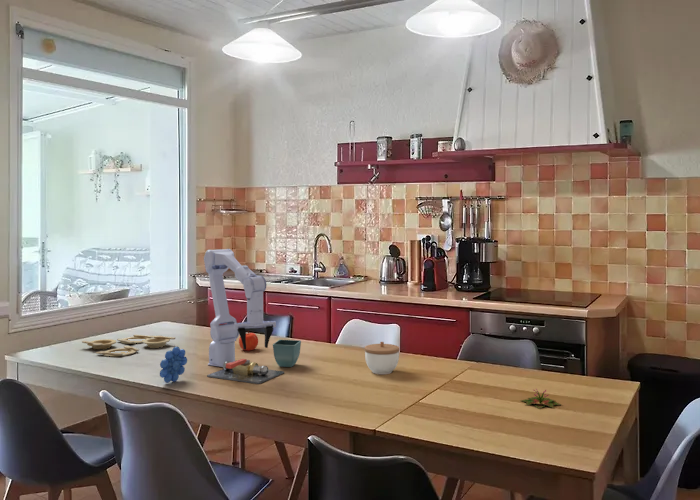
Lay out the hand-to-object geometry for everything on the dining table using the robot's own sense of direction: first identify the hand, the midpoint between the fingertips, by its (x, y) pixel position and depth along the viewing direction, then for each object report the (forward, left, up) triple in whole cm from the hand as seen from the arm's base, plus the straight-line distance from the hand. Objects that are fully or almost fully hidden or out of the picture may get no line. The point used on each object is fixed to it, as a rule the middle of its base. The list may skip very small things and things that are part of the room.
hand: (255, 348), depth 223 cm
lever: (-4, -5, -6) cm, 9 cm away
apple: (-26, +32, -10) cm, 43 cm away
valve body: (-3, -2, -10) cm, 10 cm away
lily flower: (+97, +10, -10) cm, 98 cm away
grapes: (-21, -20, -10) cm, 30 cm away
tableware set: (-76, +14, -10) cm, 78 cm away
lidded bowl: (+39, +23, -10) cm, 46 cm away
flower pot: (+3, +16, -10) cm, 19 cm away
